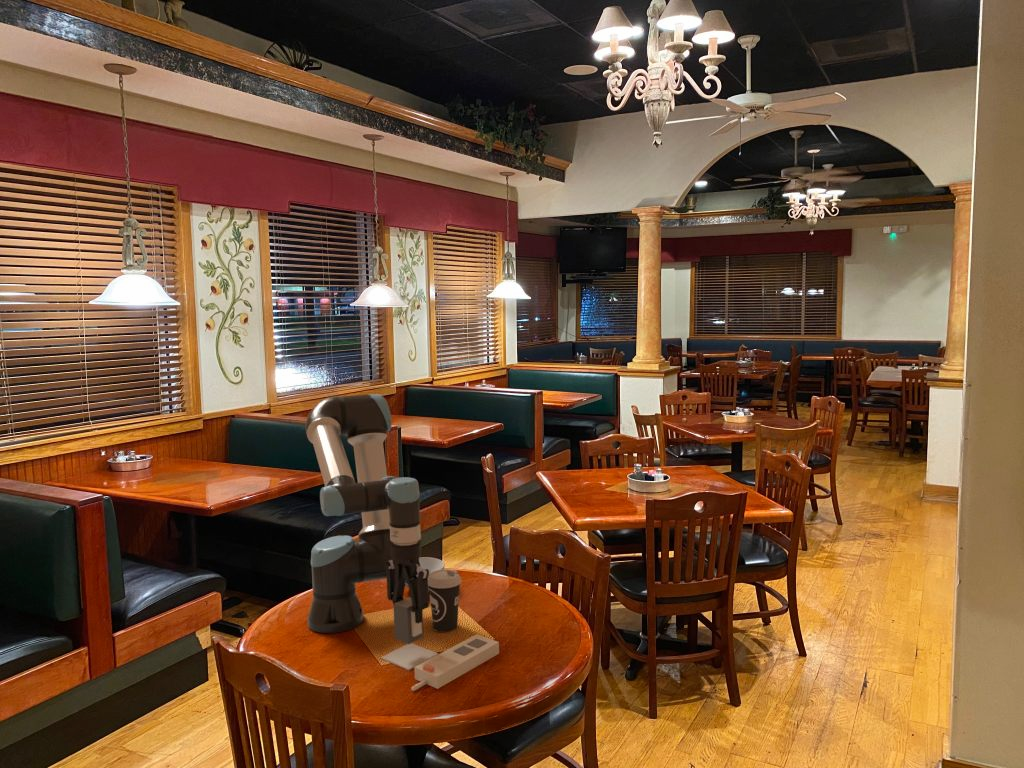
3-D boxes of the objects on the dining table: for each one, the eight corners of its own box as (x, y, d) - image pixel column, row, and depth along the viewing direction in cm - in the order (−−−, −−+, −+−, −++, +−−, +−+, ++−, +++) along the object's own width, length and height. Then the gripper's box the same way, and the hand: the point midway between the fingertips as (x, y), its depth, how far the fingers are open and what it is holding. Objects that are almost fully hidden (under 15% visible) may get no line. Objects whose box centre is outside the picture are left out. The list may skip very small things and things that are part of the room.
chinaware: (397, 601, 227) (397, 576, 226) (395, 583, 242) (394, 559, 241) (448, 596, 230) (447, 571, 229) (442, 578, 245) (441, 555, 244)
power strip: (423, 697, 172) (422, 681, 172) (400, 686, 177) (400, 671, 176) (499, 653, 193) (498, 639, 192) (476, 645, 197) (476, 631, 197)
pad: (381, 658, 191) (381, 657, 191) (410, 644, 199) (410, 642, 198) (408, 670, 185) (408, 668, 184) (437, 655, 192) (437, 653, 192)
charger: (394, 638, 190) (393, 603, 189) (409, 631, 194) (408, 597, 193) (408, 644, 187) (407, 608, 186) (423, 637, 191) (422, 601, 190)
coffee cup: (457, 636, 203) (456, 581, 201) (423, 633, 205) (421, 579, 203) (466, 621, 212) (465, 568, 211) (433, 618, 214) (432, 567, 212)
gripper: (369, 538, 191) (373, 627, 193) (420, 551, 180) (423, 646, 182) (392, 531, 197) (395, 617, 199) (442, 543, 185) (445, 635, 188)
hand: (408, 631), depth 191 cm, fingers closed on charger, 5 cm apart
